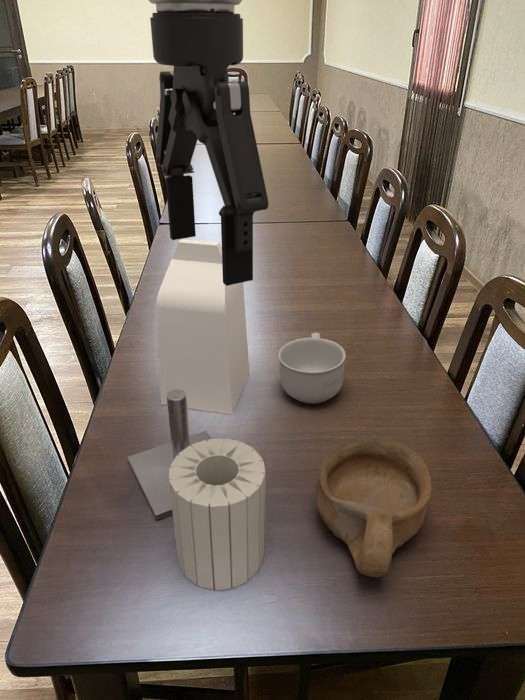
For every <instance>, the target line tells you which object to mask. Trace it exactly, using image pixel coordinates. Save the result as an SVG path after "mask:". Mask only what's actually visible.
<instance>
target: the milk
mask: <svg viewBox="0 0 525 700" xmlns="http://www.w3.org/2000/svg"><path fill="white" fill-rule="evenodd" d="M244 288H245V287H244V282H242V283H237V284H232V285H228V286H226V285H225V284H224V283H223V269H222V244H221V242H219V241H210V240H209V241H208V240H196V239H187V238H183V239H179V241H178V242H177V244H176V247H175V250H174V252H173V255H172V257H171V260H170V263H169V265H168V268H167V270H166V272H165V275H164V278H163V280H162V282H161V285H160V287H159V290H158V293H157V297H156V305H155V307H156V309H155V310H156V327H157V329H156V330H157V348H158V370H159V391H160V405H163V406H164V405H165V406H168V404H167V393H168V392H169V391H171V390H174V389H181V390H183V391H185V393H186V400H187V409H190V410H197V411H204V412H211V413H216V414H217V413H218V414H224V415H229V416H232V415H233V414H234V412H235V410H236V407H237V405H238V403H239V400H240V398H241V396H242V393H243V391H244V390H245V387H246V385H247V382H248V380H249V378H250V377H251V376H250V375H251V374H250V359H249V347H248V334H247V317H246V316H247V315H246V303H245V301H246V300H245V289H244Z"/></svg>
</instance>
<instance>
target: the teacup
mask: <svg viewBox="0 0 525 700" xmlns="http://www.w3.org/2000/svg"><path fill="white" fill-rule="evenodd" d="M277 358H278V365H279V378H280V384H281V386H282V389H283V390H284V391H285V393H286V394H287V395H288V396H289V397H291V398H292V399H294V400H297V401H299V402H301V403H304V404H311V405H312V404H314V405H315V404H320V403H323V402H326V401H327V400H330V399H332V398H333V397H335V396H337V394H338V393H339V392H340V390H341V389H342V387H343V383H344V377H345V361H346V359H347V354H346V350H345V349H344V348H343V346H341V345H340V344H339V343H337V342H335V341H333V340H331V339H327V338H322V337H321V333H320V332H312V333H311V336H310V337H303V338H297V339H293V340H291V341H289V342H287V343H285V344H284V345H283V346H281V348H280V349H279V351H278V353H277Z"/></svg>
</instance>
